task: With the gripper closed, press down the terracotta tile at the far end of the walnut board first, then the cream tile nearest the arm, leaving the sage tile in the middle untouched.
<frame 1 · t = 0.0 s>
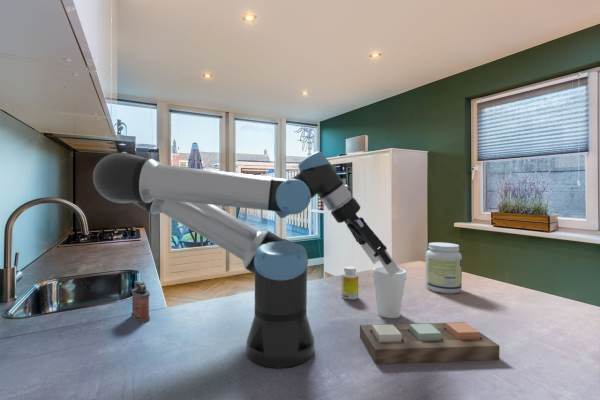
hand: (385, 266, 84), 15 cm above the worktop, tool tilted 35°, fingers open, 13 cm apart
foam cup: (388, 314, 90), on the worktop
cream tile: (386, 333, 69), point 3 cm above the worktop, slide at 0.0 cm
supplement bottle: (349, 297, 104), on the worktop
walnut board: (424, 347, 70), on the worktop
lighter: (140, 318, 86), on the worktop
supplement tub: (442, 289, 114), on the worktop
sage tile: (424, 332, 70), point 3 cm above the worktop, slide at 0.0 cm
terracotta tile: (462, 331, 71), point 3 cm above the worktop, slide at 0.0 cm
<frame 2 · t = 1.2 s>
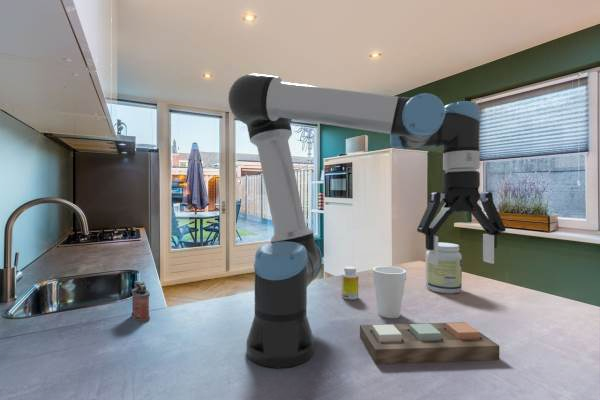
hand: (461, 263, 71), 19 cm above the worktop, tool pointing down, fingers open, 13 cm apart
nothing on the worktop moved.
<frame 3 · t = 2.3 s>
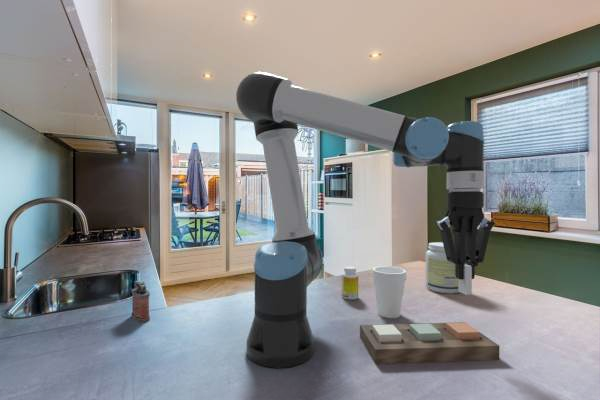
hand: (464, 292, 70), 12 cm above the worktop, tool pointing down, fingers closed
nothing on the worktop moved.
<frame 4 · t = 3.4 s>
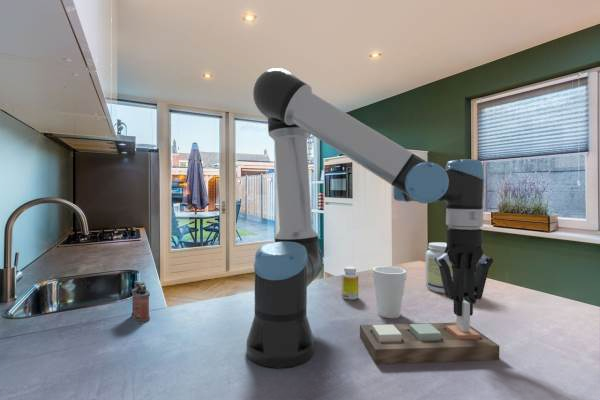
hand: (462, 329, 71), 4 cm above the worktop, tool pointing down, fingers closed
terracotta tile: (462, 334, 71), point 3 cm above the worktop, slide at 0.6 cm, touching gripper
everything else where it was.
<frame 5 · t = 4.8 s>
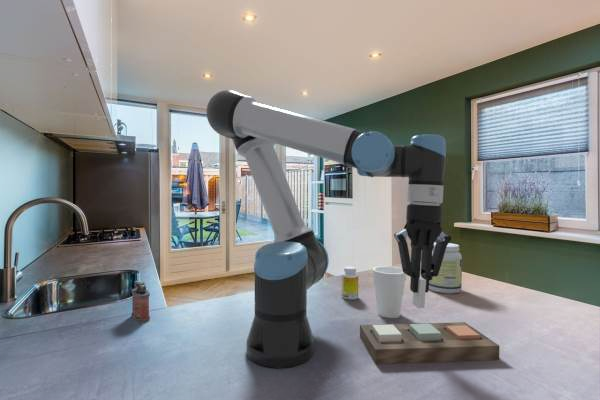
hand: (418, 305, 71), 9 cm above the worktop, tool pointing down, fingers closed
terracotta tile: (462, 334, 71), point 3 cm above the worktop, slide at 0.6 cm
everything else where it was.
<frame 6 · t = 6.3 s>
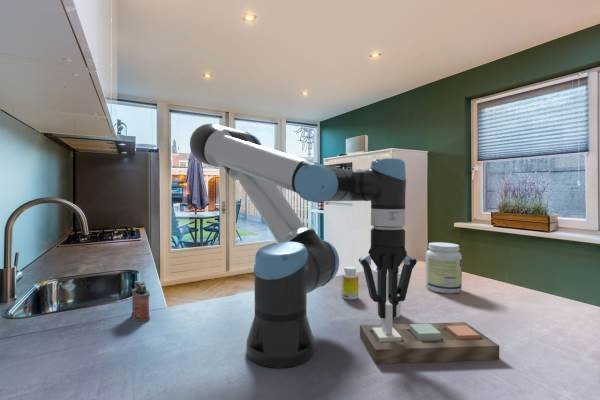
hand: (386, 331, 69), 4 cm above the worktop, tool pointing down, fingers closed
cream tile: (386, 336, 69), point 3 cm above the worktop, slide at 0.6 cm, touching gripper
everything else where it was.
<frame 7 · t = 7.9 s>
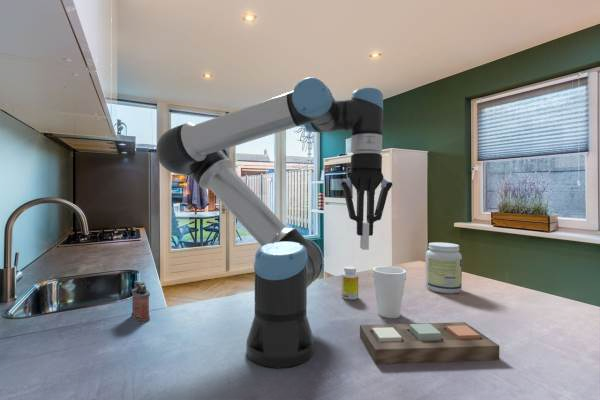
hand: (364, 248, 76), 22 cm above the worktop, tool pointing down, fingers closed
cream tile: (386, 336, 69), point 3 cm above the worktop, slide at 0.7 cm
everything else where it was.
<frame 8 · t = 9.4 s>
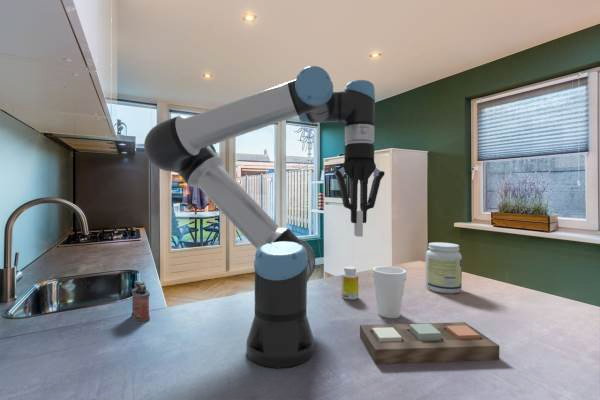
hand: (358, 235, 79), 24 cm above the worktop, tool pointing down, fingers closed
nothing on the worktop moved.
at the end: terracotta tile slide at 0.6 cm; cream tile slide at 0.7 cm; sage tile slide at 0.0 cm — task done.
